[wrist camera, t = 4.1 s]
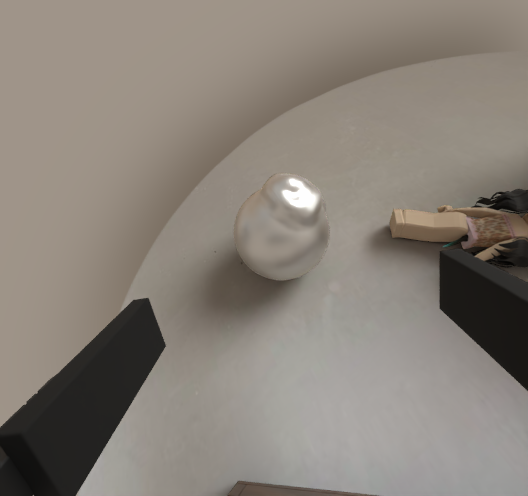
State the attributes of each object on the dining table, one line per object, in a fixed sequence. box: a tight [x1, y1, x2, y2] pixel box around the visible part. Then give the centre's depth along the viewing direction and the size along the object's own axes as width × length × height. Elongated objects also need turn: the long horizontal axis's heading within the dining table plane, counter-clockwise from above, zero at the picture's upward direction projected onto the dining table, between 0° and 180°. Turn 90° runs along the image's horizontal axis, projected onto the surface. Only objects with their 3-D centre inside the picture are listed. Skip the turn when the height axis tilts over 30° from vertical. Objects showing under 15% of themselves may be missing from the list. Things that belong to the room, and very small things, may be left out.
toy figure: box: [390, 189, 528, 267], centre depth 24 cm, size 7×6×15 cm
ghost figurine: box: [234, 173, 330, 280], centre depth 25 cm, size 9×10×10 cm
